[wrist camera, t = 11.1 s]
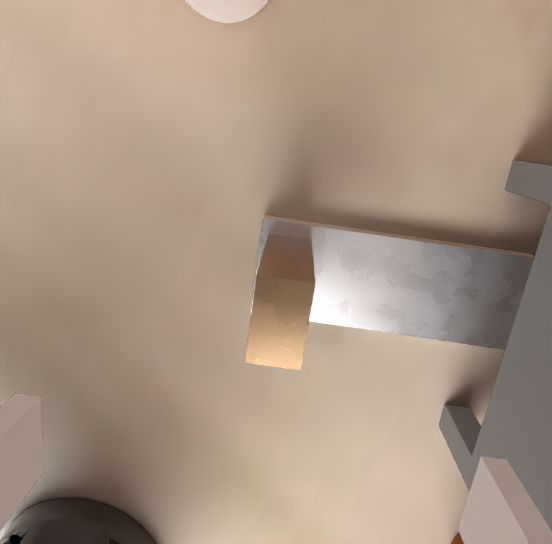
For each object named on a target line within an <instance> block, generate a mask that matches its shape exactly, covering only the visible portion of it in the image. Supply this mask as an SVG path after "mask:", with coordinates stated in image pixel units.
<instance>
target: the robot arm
mask: <svg viewBox="0 0 552 544" xmlns="http://www.w3.org/2000/svg"><path fill="white" fill-rule="evenodd" d="M43 472H44V468H43V442H42V415H41V397H40V396H32V395H25V394H18V393H15V394H14V395H13V396H12V397H11V398H10V399H9V400H8V401H6V402H5V403H4V404H3V405H2V406H1V407H0V531H1V529H2V528H3V527H4V525H5V524H6V522H7V521H8V520H9V518H10V517H11V516H12V514H13V513H14V512H15V510H16V509H17V508H18V506H19V505H20V503H21V502H22V501H23V499H24V498H25V497H26V495H27V494H28V493H29V491H30V490H31V489H32V487H33V486H34V485H35V483H36V482H37V480H38V479H39V478H40V476H41V475H42V474H43ZM458 530H459V533H460V535H461V538H462V540H463V543H464V544H552V531H551V529H550V528H549V526H548V525H547V523H546V521H545V520H544V518H543V517H542V515H541V513H540V512H539V510H538V509H537V507H536V505H535V504H534V502H533V501H532V499H531V498H530V496H529V494H528V493H527V491H526V490H525V488H524V486H523V485H522V483H521V482H520V480H519V478H518V477H517V475H516V474H515V472H514V471H513V469H512V467H511V466H510V464H509V463H508V461H507V460H505V459H497V458H490V457H483V456H481V458H480V461H479V464H478V467H477V470H476V473H475V476H474V480H473V483H472V486H471V489H470V492H469V495H468V498H467V502H466V505H465V508H464V511H463V514H462V517H461V520H460V524H459V527H458ZM0 544H155V543H154V541H153V539H152V538H151V537H150V535H149V534H148V533H147V532H146V531H145V530H144V529H143V528H142V527H141V526H140V525H139V524H138V523H137V522H136V521H134V520H133V519H132V518H130V517H129V516H127V515H126V514H124V513H122V512H120V511H119V510H117V509H115V508H112V507H110V506H107V505H105V504H102V503H98V502H95V501H90V500H85V499H75V498H63V499H54V500H49V501H45V502H42V503H39V504H36V505H34V506H32V507H30V508H28V509H27V510H25V511H24V512H23V513H21V514H20V515H19V516H18V517H17V518H16V519H15V520H14V522H13V523H12V524H11V526H10V527H9V529H8V530H7V531H6V533H5V534H4V536H3V537H2V538H1V540H0Z"/></svg>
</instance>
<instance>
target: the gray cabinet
mask: <svg viewBox="0 0 552 544" xmlns="http://www.w3.org/2000/svg"><path fill="white" fill-rule="evenodd" d="M505 190H506V191H509V192H512V193H515V194H519V195H522V196H525V197H528V198H531V199H535V200H538V201H541V202H544V203H547V204H550V205H551V207H550V210H549V213H548V216H547V219H546V223H545V226H544V229H543V232H542V235H541V238H540V242H539V245H538V248H537V251H536V254H535V258H534V261H533V264H532V267H531V270H530V273H529V277H528V280H527V283H526V286H525V289H524V292H523V296H522V299H521V302H520V305H519V308H518V312H517V315H516V318H515V321H514V324H513V327H512V331H511V334H510V337H509V340H508V343H507V347H506V350H505V353H504V356H503V359H502V362H501V366H500V369H499V372H498V375H497V378H496V381H495V385H494V388H493V391H492V394H491V397H490V401H489V404H488V407H487V410H486V413H485V416H484V420H483V423H482V426H481V425H480V424H479V422H478V420H477V419H476V417H475V415H474V414H473V412H472V410H471V409H470V408H468V407H460V406H453V405H446V404H445V406H444V409H443V413H442V416H441V420H440V423H439V427H440V429H441V431H442V433H443V435H444V438H445V440H446V442H447V444H448V446H449V448H450V451H451V453H452V455H453V457H454V459H455V461H456V464H457V466H458V468H459V470H460V472H461V474H462V477H463V479H464V481H465V483H466V485H467V487H468V490H469V492H470V489H471V486H472V483H473V480H474V476H475V473H476V470H477V467H478V464H479V461H480V458H481V456H483V457H490V458H497V459H505V460H507V461H508V463H509V464H510V466H511V467H512V469H513V471H514V472H515V474H516V475H517V477H518V478H519V480H520V482H521V483H522V485H523V486H524V488H525V490H526V491H527V493H528V494H529V496H530V498H531V499H532V501H533V502H534V504H535V505H536V507H537V509H538V510H539V512H540V513H541V515H542V517H543V518H544V520H545V521H546V523H547V525H548V526H549V528H550V529H551V531H552V165H546V164H539V163H531V162H524V161H516V160H513V163H512V166H511V170H510V174H509V177H508V181H507V184H506V188H505Z"/></svg>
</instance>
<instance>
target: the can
mask: <svg viewBox="0 0 552 544" xmlns="http://www.w3.org/2000/svg"><path fill="white" fill-rule="evenodd" d="M185 1H186V2H187V3H188V4H189V5H190V6H191V7H192V8H193V9H194V10H195V11H197V12H198V13H199V14H201V15H202V16H204V17H206V18H208V19H210V20H213V21H216V22H221V23H235V22H240V21H243V20H245V19H248V18H250V17H251V16H253V15H255V14H256V13H257V12H258V11H260V10H261V9H262V8H263V7H264V6H265V4H266V3H267V2H268V0H185Z"/></svg>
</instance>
